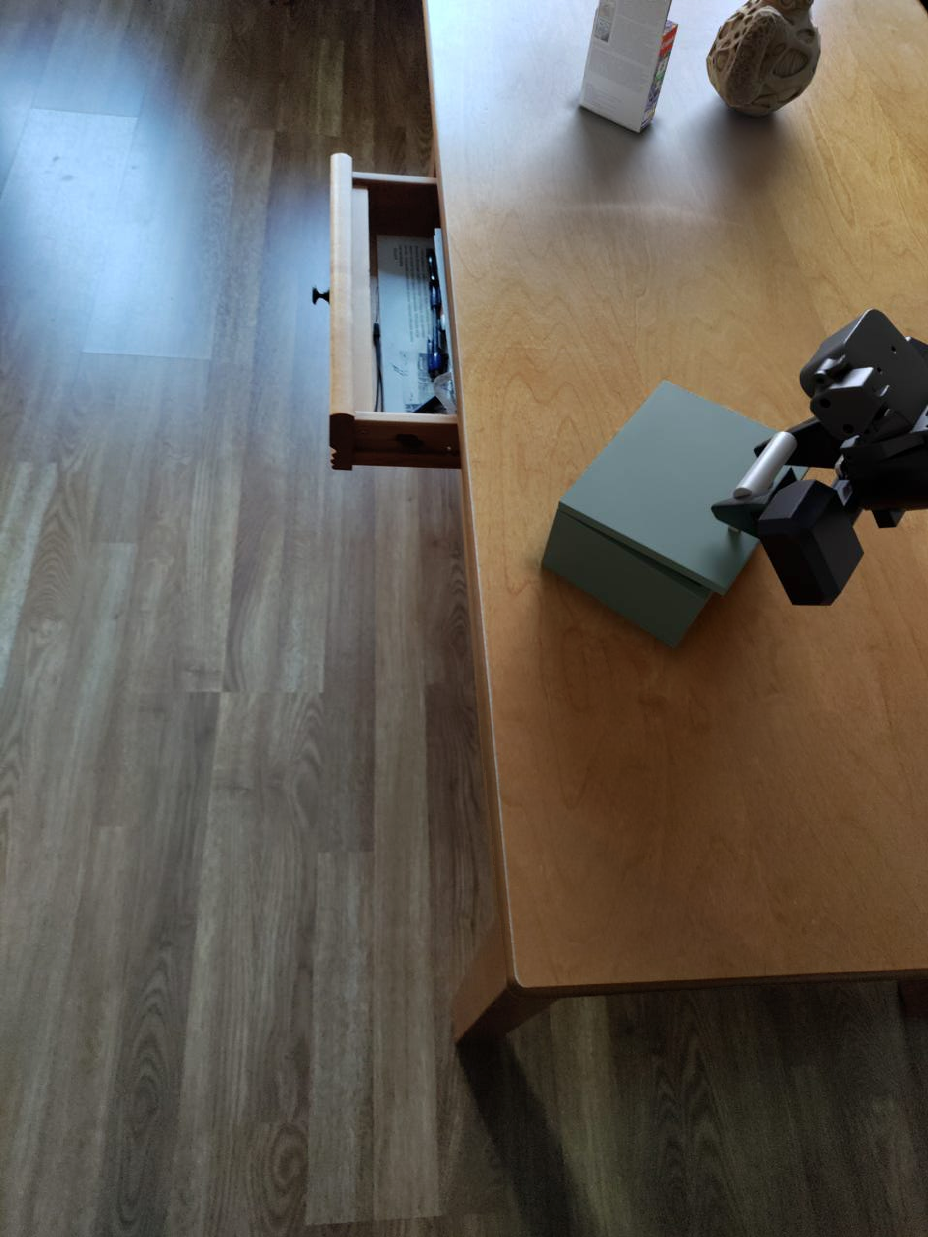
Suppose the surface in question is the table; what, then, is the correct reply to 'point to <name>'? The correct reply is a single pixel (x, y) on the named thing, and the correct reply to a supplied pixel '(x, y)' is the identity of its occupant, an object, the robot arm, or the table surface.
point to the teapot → (765, 55)
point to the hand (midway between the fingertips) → (735, 481)
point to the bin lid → (681, 483)
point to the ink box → (627, 60)
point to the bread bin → (624, 579)
